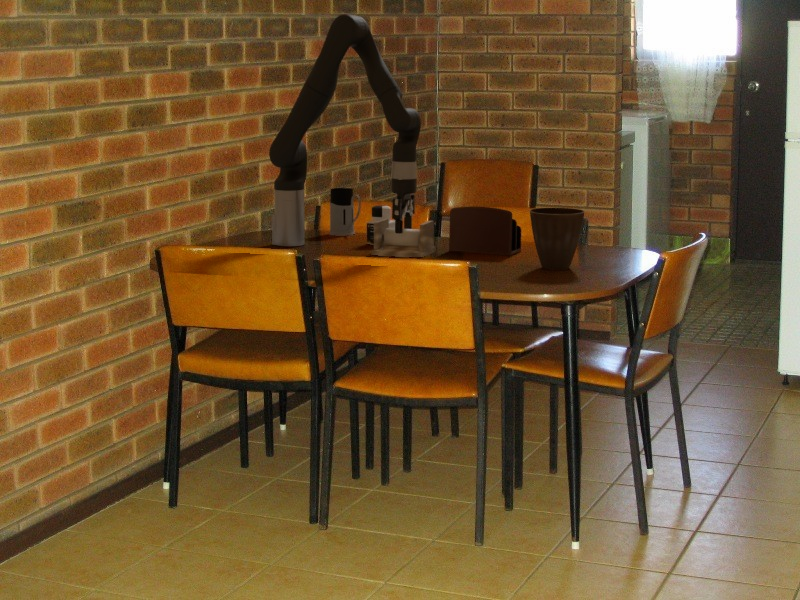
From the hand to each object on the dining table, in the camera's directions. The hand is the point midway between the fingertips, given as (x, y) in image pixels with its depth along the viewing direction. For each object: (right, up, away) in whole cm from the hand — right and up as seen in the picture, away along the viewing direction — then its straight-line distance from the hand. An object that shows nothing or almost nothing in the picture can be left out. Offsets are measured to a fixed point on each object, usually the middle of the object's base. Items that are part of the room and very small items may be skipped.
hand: (403, 231), depth 359 cm
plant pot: (+42, -12, -24) cm, 50 cm away
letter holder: (+25, -6, +7) cm, 26 cm away
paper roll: (0, -2, 0) cm, 2 cm away
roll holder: (0, -7, +1) cm, 7 cm away
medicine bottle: (-7, -3, +21) cm, 22 cm away
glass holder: (-19, +1, +41) cm, 45 cm away
